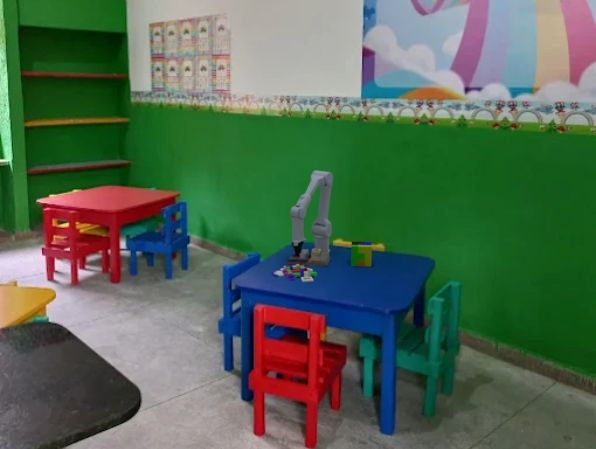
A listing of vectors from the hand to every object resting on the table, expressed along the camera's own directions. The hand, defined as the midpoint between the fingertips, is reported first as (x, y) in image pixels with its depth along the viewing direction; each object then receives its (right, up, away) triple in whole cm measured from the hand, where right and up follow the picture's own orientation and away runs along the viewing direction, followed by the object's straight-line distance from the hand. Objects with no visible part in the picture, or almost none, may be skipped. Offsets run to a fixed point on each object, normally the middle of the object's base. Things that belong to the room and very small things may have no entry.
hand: (297, 255), depth 315 cm
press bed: (+6, -3, -1) cm, 7 cm away
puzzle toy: (+32, -4, -2) cm, 32 cm away
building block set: (-2, -8, -19) cm, 21 cm away
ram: (+3, -1, 0) cm, 4 cm away
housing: (+9, -2, -2) cm, 10 cm away
